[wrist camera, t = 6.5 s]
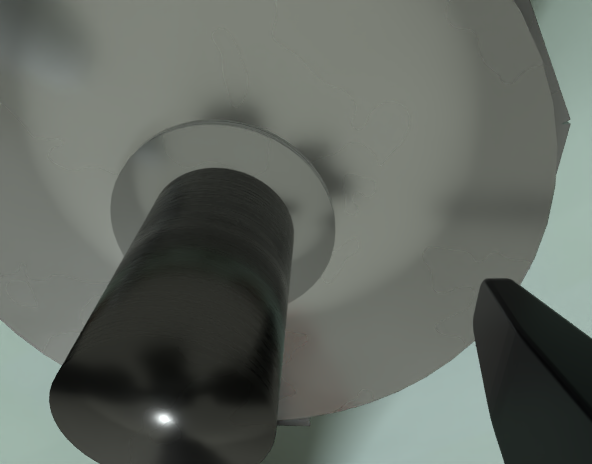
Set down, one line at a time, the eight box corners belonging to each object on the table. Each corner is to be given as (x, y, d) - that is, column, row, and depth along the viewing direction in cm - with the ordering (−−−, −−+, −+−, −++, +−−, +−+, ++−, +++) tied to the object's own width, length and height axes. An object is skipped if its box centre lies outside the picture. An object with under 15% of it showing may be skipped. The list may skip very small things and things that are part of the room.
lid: (480, 400, 14) (555, 641, 9) (39, 391, 15) (-89, 611, 10) (637, -194, 7) (1231, -378, 2) (-221, -153, 8) (-1012, -233, 3)
